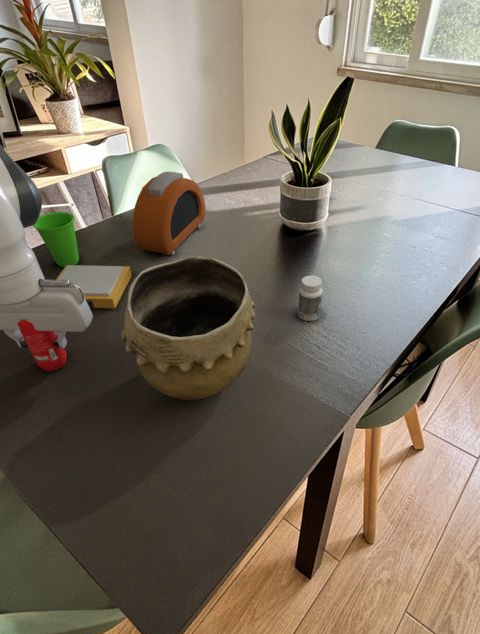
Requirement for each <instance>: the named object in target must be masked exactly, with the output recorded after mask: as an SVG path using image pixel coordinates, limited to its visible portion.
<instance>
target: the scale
mask: <svg viewBox="0 0 480 634" xmlns="http://www.w3.org/2000/svg"><path fill="white" fill-rule="evenodd" d="M132 276H133V274H132V270H131V267H130V266H129V265H126V266H124V265H84V264H83V265H82V264H81V265H78V264H75V265H66V267H63V269H62V271H61V272H60V273H59V275H58V276H57V277H56V279H55V280H69V281H70V282H71V283H74V284H76V285H78V286H79V287H80V288H81V290H82V293H83V296H84V298H85V300H86V302H87V304H88V305H89V308H90V309H116V308H117V305H118V304H119V301H120V300H121V299H122V296H123V293H124V292H125V290H126V288H127V286H128V284H129V282H130V280H131V278H132Z"/></svg>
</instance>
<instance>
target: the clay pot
mask: <svg viewBox="0 0 480 634" xmlns="http://www.w3.org/2000/svg"><path fill="white" fill-rule="evenodd" d="M254 308H256V304H255V303H254V301H253V300H252V298H251V296H250V292H249V289H248V285H247V283H246V281H245V278H244V276H243V275H242V274H241V273H240V271H238V270H237V269H236V268H234V267H233V266H231V265H229V264H228V263H226V262H225V261H222V260H221V259H217V258H215V257H203V256H201V255H191V256H187V257H183V258H179V259H177V260H174V261H170V262H165V263H160V264H157V265H154V266H151V267H147V268H146V269H144V270H142V271H140V273H139V274H138V275H137V276H136V277H135V278H134V280H133V281H132V283H131V284H130V286H129V289H128V294H127V305H126V309H125V312H124V320H123V330H122V331H121V334H120V337H121V341H122V342H125V352H126V353H128V354H129V355H131V354H135V356H136V364H137V366H138V369H139V372H140V374H141V376H142V378H144V380H145V381H146V382H147V384H149V385H150V386H152V387H153V388H154V389H156V390H157V391H159V392H160V393H162V394H163V395H166V396H169V397H171V398H174V399H179V400H188V401H193V400H194V401H197V400H200V399H204V398H209V397H211V396H213V395H217V394H218V393H219V392H221V391H223V390H224V389H226V388H228V387H229V386H230V385H231V384H233V383H234V382H235V381H236V380H237V379H238V378H239V377H240V376H241V375H242V373H243V372H244V370H245V368H246V367H247V364H248V361H249V359H250V355H251V349H252V333H251V331H253V330H254V328H255V327H254V324H253V323H252V321H253V320H255V319H256V312H255V310H254Z"/></svg>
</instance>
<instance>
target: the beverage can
mask: <svg viewBox="0 0 480 634" xmlns="http://www.w3.org/2000/svg"><path fill="white" fill-rule="evenodd" d="M18 320H20V321H19V322H18V323H17V324H18V326H19V328H20V332H21V334H22V336H23V338H24V340H25V342H26V344H27V346H28V347H27V348H28V350H29V351H30V353H31V355H32V356H33V357H32V358H33V359H34V361H35V363H36V365H37V366H38V367H39V368H41V369H42V370H43V371H46V372H54V371H57V370H59V369H61V368H63V367H64V366H65V365H66V363H67V357H68V354H67V351H66V349H65V348H55V347H54V346H55V345H54V344H53V342H52V341H53V340H54V339H55V337H56V335H55V333H54V331H37V330H36V329H35V328H34V326H33V324H32V323H31V322H28V321H26V320H27V319H18Z"/></svg>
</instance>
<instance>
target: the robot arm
mask: <svg viewBox="0 0 480 634" xmlns="http://www.w3.org/2000/svg"><path fill="white" fill-rule="evenodd" d="M42 207H43V198H42V195H41V193H40V189H39V188H38V187H37V185H36V184H35V182H34V180H33V179H32V178H31V177H30V176H29V175H28V173H26V171H25V170H24V169H22V167H21V166H20V165H19V164H18V163H16V161H15V160H13V158H12V157H11V156H10V155H9V153H7V151H6V150H5V149H4V147H3V146H2V144H0V331H3V333H4V334H5V335H6V336H8V337H9V338H10V339H12V340H13V341H15V342H16V345H17V346H18V347H19V348H29V347H28V346H27V344H26V342H25V340H24V338H23V336H22V334H21V332H20V328H19V326H18V324H17V323H18V322H19V321H20V320H18V319H27V320H26V321H28V322H31V323H32V324H33V326H34V328H35V329H36V330H37V331H54V333H55V335H56V337H55V339H54V340H53V341H52V342H53V344H54V345H55V346H54V347H55V348H64V349H65V348H66V346H67V344H68V340H67V338H66V334H67V332H68V333H84V332H86V331H87V329H88V328H89V327H90V325H91V324H92V321H93V318H94V315H93V312H92V309H91V308H89V305H88V304H87V302H86V300H85V298H84V296H83V293H82V290H81V288H80V287H79V286H78V285H76V284H74V283H71V282H70V281H69V280H56V279H50V278H49V279H48V278H45V276H44V274H43V271H42V269H41V266H40V263H39V261H38V259H37V256H36V254H35V252H34V251H33V249H32V248H31V247H30V246H29V245H30V244H28V242H27V239H26V232H25V229H26V228H29V227H33V225H34V224H36V222H37V220H38V218H39V217H40V216H41V212H42Z"/></svg>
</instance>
